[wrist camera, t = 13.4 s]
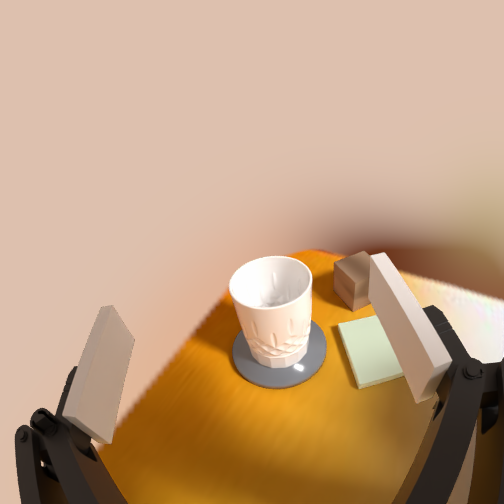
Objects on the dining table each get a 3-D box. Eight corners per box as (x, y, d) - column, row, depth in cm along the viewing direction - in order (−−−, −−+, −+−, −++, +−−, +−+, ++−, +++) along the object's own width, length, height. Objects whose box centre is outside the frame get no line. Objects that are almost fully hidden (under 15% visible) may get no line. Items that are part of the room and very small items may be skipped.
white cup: (242, 329, 37) (225, 264, 31) (303, 315, 37) (298, 249, 32) (251, 380, 30) (233, 317, 25) (322, 363, 30) (323, 296, 25)
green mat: (401, 313, 35) (403, 308, 34) (430, 366, 27) (432, 361, 27) (337, 329, 35) (338, 323, 35) (358, 389, 28) (359, 384, 27)
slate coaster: (315, 310, 39) (315, 306, 38) (336, 378, 29) (336, 374, 29) (232, 324, 39) (231, 319, 38) (235, 395, 30) (233, 391, 29)
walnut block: (361, 278, 42) (363, 250, 40) (381, 298, 38) (386, 269, 35) (333, 290, 41) (333, 262, 39) (352, 312, 37) (355, 282, 34)
